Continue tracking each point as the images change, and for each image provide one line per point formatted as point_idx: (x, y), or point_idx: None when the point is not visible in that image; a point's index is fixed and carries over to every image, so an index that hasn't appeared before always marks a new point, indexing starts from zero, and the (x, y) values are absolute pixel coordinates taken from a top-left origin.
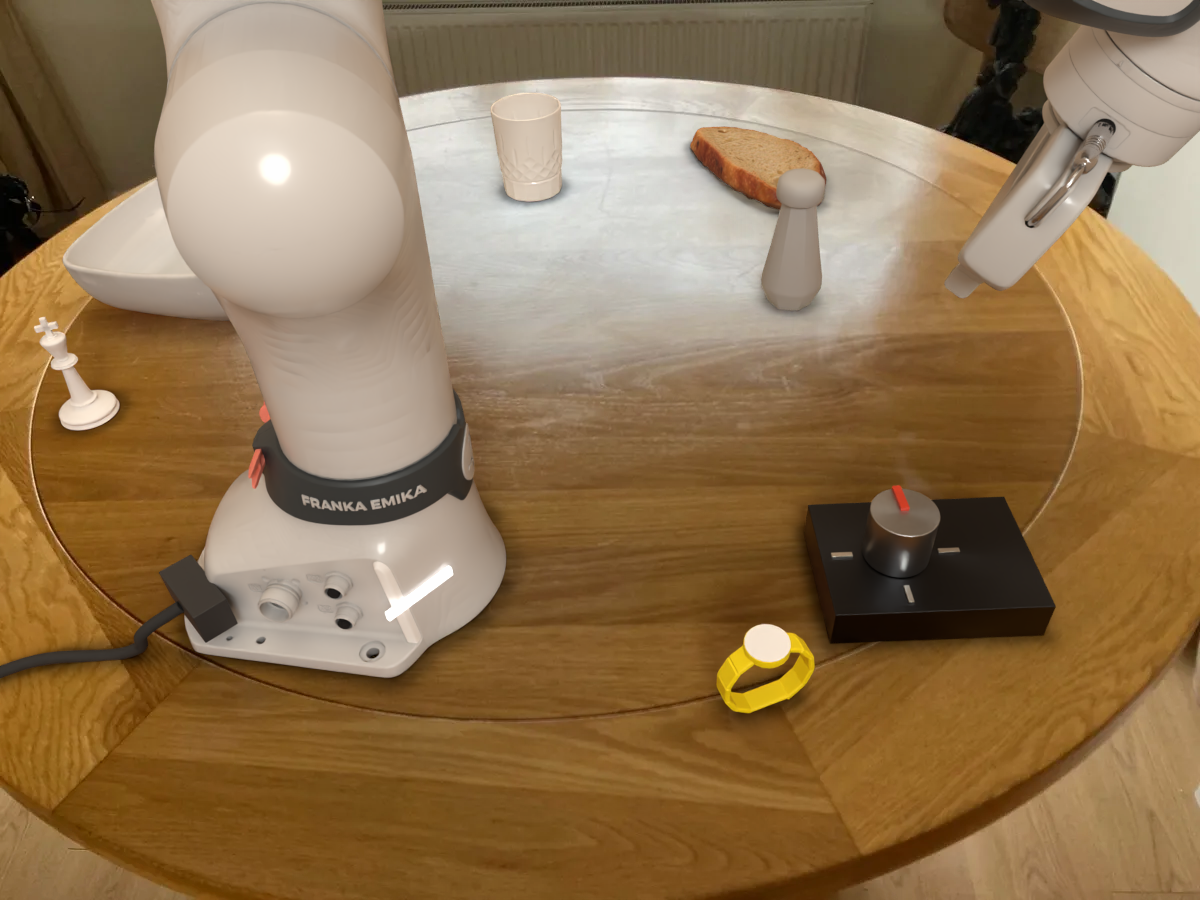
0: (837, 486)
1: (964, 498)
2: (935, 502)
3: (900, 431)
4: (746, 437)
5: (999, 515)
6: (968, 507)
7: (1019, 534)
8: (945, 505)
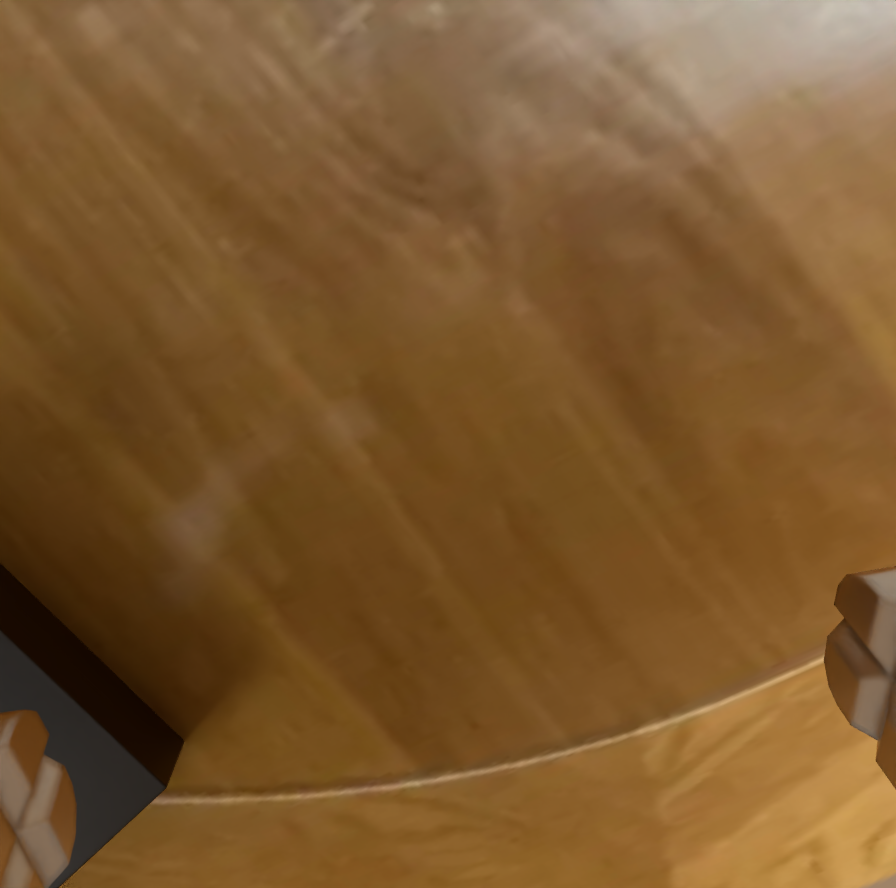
0: (51, 374)
1: (88, 716)
2: (19, 667)
3: (359, 396)
4: (57, 61)
5: (87, 813)
6: (61, 741)
7: (54, 881)
8: (28, 691)
